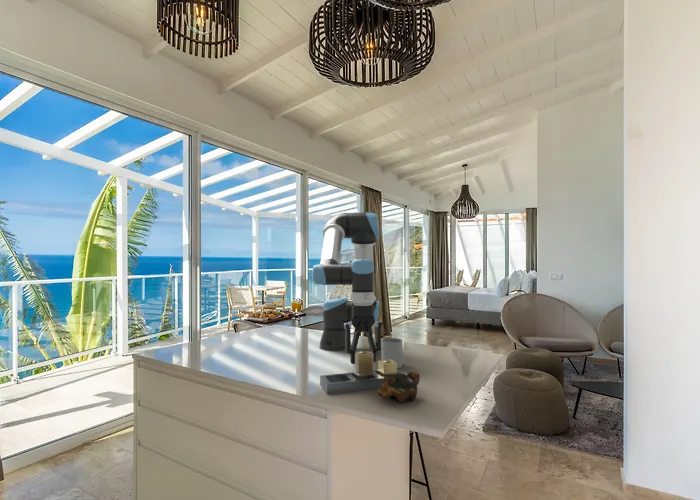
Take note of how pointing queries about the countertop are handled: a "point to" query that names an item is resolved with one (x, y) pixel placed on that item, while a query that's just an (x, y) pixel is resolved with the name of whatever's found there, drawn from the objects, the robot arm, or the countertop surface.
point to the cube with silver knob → (365, 363)
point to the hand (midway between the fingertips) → (363, 372)
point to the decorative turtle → (400, 386)
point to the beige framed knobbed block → (387, 368)
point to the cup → (392, 350)
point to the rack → (351, 382)
